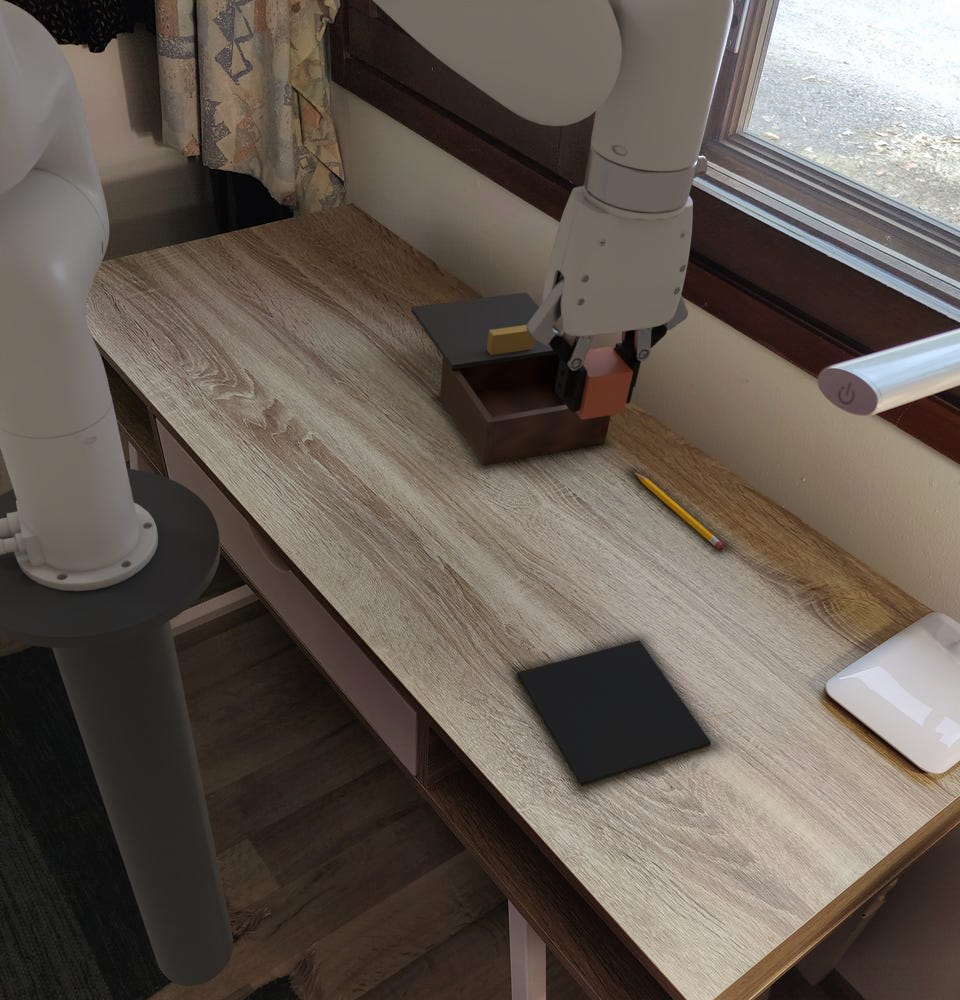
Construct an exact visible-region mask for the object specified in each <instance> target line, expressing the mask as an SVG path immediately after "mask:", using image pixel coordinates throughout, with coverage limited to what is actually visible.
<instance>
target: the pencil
mask: <svg viewBox="0 0 960 1000" xmlns="http://www.w3.org/2000/svg"><path fill="white" fill-rule="evenodd" d="M634 474H635V476H636V477H637V479H638V480H639V481H640V482H641V484H642V485H643V486H644V487H645V488H647V489H648V490H649V491H650V492H651V493H653V495H655V496H656V497H657V498H658V499H660V501H662V502H663V503H664V504H665V505H666V506H667V507H669V508H670V509H671V510H672V511H673V512H675V514H676V515H678V516H679V517H680V518H681V519H683V520H684V521H685V522H686V523H687V524H688V525H690V527H691V528H693V529H694V530H695V531H696V532H697V533H698V534H700V536H702V537H703V538H704V539H705V540H706V541H708V542H709V543H710V544H711V545H712V546H713V547H715V548H716V549H717V550H720V549H723V548H724V546H725V545H724V543H723V542H722V541H721V540H720V539H719V538H717V537H716V536H715V535H714V534H713V533H712V532H710V531H709V530H708V529H707V528H706V527H704V526H703V525H702V524H701V523H700V522H699V521H697V519H695V518H694V517H693V516H692V515H690V514H689V512H687V511H686V510H685V509H684V508H682V507H681V506H680V505H679V504H678V503H676V501H675V500H673V498H671V497H670V496H668V495H667V494H666V493H665V492H664V491H663V490H661V489H660V487H658V486H657V485H656V484H655V483H653V482H652V481H651V480H650V479H649V478H647V477H645V476H644V475H642V474H639V473H637V472H635V473H634Z"/></svg>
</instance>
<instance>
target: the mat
mask: <svg viewBox="0 0 960 1000" xmlns="http://www.w3.org/2000/svg"><path fill="white" fill-rule="evenodd" d="M516 676H517V677H518V680H519V681H520V683H521V684H522V686H523V688H524V690H525V691H526V693H527V695H528V697H529V698H530V700H531V702H532V704H533V705H534V707H535V709H536V711H537V712H538V714H539V716H540V718H541V719H542V721H543V723H544V724H545V726H546V728H547V730H548V732H549V733H550V735H551V737H552V739H553V740H554V742H555V743H556V745H557V748H558V749H559V751H560V753H561V754H562V756H563V758H564V759H565V761H566V763H567V765H568V767H569V768H570V770H571V772H572V774H573V775H574V777H575V779H576V780H577V782H578V784H579V786H585V785H587V784H591V783H595V782H597V781H600V780H604V779H607V778H610V777H613V776H616V775H620V774H623V773H626V772H629V771H633V770H636V769H639V768H642V767H645V766H648V765H652V764H655V763H659V762H661V761H665V760H667V759H671V758H674V757H677V756H680V755H683V754H687V753H689V752H693V751H697V750H700V749H702V748H706V747H709V746H711V745H712V742H711V739H709V737H708V736H707V734H706V733H705V731H704V730H703V728H702V727H701V725H699V723H698V721H697V720H696V719H695V717H694V716H693V714H692V713H691V711H690V709H688V707H687V706H686V704H685V703H684V702H683V699H681V697H680V696H679V694H678V692H676V690H675V688H674V687H673V685H672V684H671V682H670V681H669V680H668V678H667V677H666V676H665V674H664V673H663V671H662V670H661V668H660V667H659V666H658V665H657V663H656V662H655V660H654V659H653V656H651V654H650V653H649V651H648V650H647V649H646V647H645V646H644V645H643V643H642V642H641V640H635V641H631V642H627V643H623V644H619V645H615V646H612V647H608V648H604V649H601V650H597V651H593V652H589V653H586V654H583V655H577V656H574V657H571V658H567V659H563V660H559V661H555V662H552V663H548V664H545V665H544V664H543V665H540V666H537V667H533V668H529V669H525V670H522V671H517V673H516Z"/></svg>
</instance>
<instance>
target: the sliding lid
mask: <svg viewBox="0 0 960 1000" xmlns="http://www.w3.org/2000/svg"><path fill="white" fill-rule="evenodd" d="M539 307H540V306H539V305H538V303H536V301H535V300H534V299H533V298H532V297H531V296H530V295H529V294H528V292H520V293H511V294H503V295H494V296H488V297H480V298H472V299H463V300H455V301H448V302H439V303H432V304H423V305H415V306H411V308H410V309H411V310H410V312H411V314H412V315H413V316H414V318H415V319H416V321H417V322H418V323H419V325H420V326H421V327H422V329H423V330H424V332H425V333H426V336H428V338H429V339H430V340H431V342H432V343H433V345H434V347H435V348H436V349H437V351H438V352H439V353H440V354H441V357H442V359H443V358H444V359H445V360H446V362H447V363H448V365H449V366H450V368H451V369H452V370H454V369H460V368H467V367H474V366H480V365H487V364H494V363H500V362H507V361H514V360H520V359H527V358H534V357H540V356H547V355H554V354H556V353H555V352H554V351H553V350H552V349H551V348H550V347H548V346H545V345H544V344H542V343H540V342H539V341H537V340H535V339H534V338H533V337H532V336H531V335H530V333H529V332H528V331H527V329H526V325H527V323H528V322H529V321H530V319H531V318H532V317H533V315H534V314H535V313H536V311H537V310H538V309H539ZM553 328H555V329H557V331H558V332H559V333H560V332H561V330H559V328H558V327H557V326H556V325H555V324H554V326H553Z"/></svg>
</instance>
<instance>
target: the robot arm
mask: <svg viewBox="0 0 960 1000" xmlns="http://www.w3.org/2000/svg"><path fill="white" fill-rule="evenodd" d="M372 2H373V3H374V4H376V5H377V6H378V7H379V8H380V9H381V10H382V11H384V13H385V14H387V16H389V17H390V18H391V20H393V21H394V22H395V23H396V24H397V25H398V26H399V27H400V28H402V29H403V31H405V32H406V33H407V35H409V36H410V37H412V38H413V39H414V40H415V41H416V42H417V43H418V44H419V45H421V46H422V47H423V48H424V49H425V50H427V51H428V52H429V53H430V54H432V55H433V56H434V57H435V58H437V60H439V61H440V62H442V63H443V64H444V65H446V66H447V67H448V68H450V69H451V70H452V71H454V72H455V73H457V75H459V76H461V77H462V78H463V79H464V80H467V81H468V82H470V84H472V85H473V86H475V87H476V88H478V89H479V90H481V92H483V93H485V94H486V95H487V96H489V97H490V98H492V99H493V100H495V101H496V102H498V103H499V104H501V105H502V106H503V107H505V108H506V109H508V110H509V111H511V112H513V114H515V115H517V116H519V117H521V118H523V119H525V120H527V121H530V122H532V123H535V124H538V125H542V126H549V127H561V126H562V127H563V126H564V127H565V126H570V125H573V124H577V123H579V122H581V121H583V120H585V119H586V118H588V117H591V115H592V114H595V115H594V119H593V120H594V121H593V127H592V131H591V139H590V146H589V152H588V158H587V163H586V170H585V176H584V182H583V185H580V186H576V187H573V188H572V190H571V192H570V195H569V197H568V199H567V201H566V204H565V206H564V210H563V212H562V215H561V218H560V221H559V224H558V227H557V231H556V235H555V237H554V242H553V245H552V249H551V253H550V257H549V262H548V266H547V270H546V274H545V275H546V276H545V281H544V286H543V292H542V300H541V301H542V303H541V305H540V306H539V309H538V310H537V311H536V313H535V314H534V315H533V317H532V318H531V319H530V321H529V322H528V323H527V325H526V329H527V331H528V332H529V333H530V335H531V336H532V337H533V338H534V339H535V340H537V341H539V342H540V343H542V344H544V345H545V346H548V347H550V348H551V349H552V350H553V351H554V352H555V353H556V354H557V355H558V356H559V357H560V362H559V368H558V374H557V379H556V386H555V388H556V393H557V395H558V396H559V397H560V398H561V399H562V401H563V402H564V403H565V404H566V406H567V407H568V408H569V410H570V411H571V412H577V411H579V409H580V406H581V401H582V396H583V391H584V386H585V380H586V375H587V369H586V368H585V367H584V366H583V362H584V360H585V357H586V354H587V352H588V349H590V346H591V343H592V341H593V339H594V336H597V335H604V334H606V335H607V334H612V333H621V342H618V343H615V346H614V347H613V349H614V350H615V351H616V352H617V354H618V355H619V356H620V357H621V358H622V359H623V361H624V362H625V363H626V364H627V365H628V366H629V367H630V368H631V370H632V371H633V375H632V379H631V383H630V388H629V392H628V396H627V400H626V405H627V404H630V403H631V400H632V396H633V393H634V392H633V391H634V388H635V387H636V384H637V382H638V381H637V380H638V376H639V372H640V368H641V363H642V362H644V361H646V360H647V359H648V358H649V357H650V355H651V349H652V348H653V347H655V345H656V344H658V342H660V341H661V340H662V339H663V338H664V337H665V336H666V334H667V331H671V330H672V329H673V328H675V327H676V326H678V325H679V324H681V323H682V322H684V321H685V320H686V319H687V318H688V316H689V311H688V308H687V305H686V302H685V300H684V297H683V294H682V293H683V288H684V284H685V278H686V274H687V269H688V265H689V257H690V251H691V244H692V243H691V242H692V236H693V235H692V234H693V215H694V211H693V210H694V206H693V205H694V202H693V199H692V197H691V196H690V193H691V190H692V186H693V182H694V179H696V178H697V177H703V176H705V175H706V174H707V171H708V160H707V158H706V157H705V156H704V155H700V152H701V147H702V143H703V139H704V135H705V132H706V127H707V122H708V119H709V114H710V111H711V108H712V107H711V106H712V102H713V98H714V94H715V90H716V86H717V82H718V78H719V73H720V69H721V66H722V62H723V57H724V53H725V50H726V45H727V41H728V37H729V33H730V29H731V24H732V20H733V15H734V6H735V5H734V0H372ZM108 212H109V211H108V207H107V202H106V197H105V193H104V188H103V185H102V181H101V177H100V173H99V169H98V165H97V161H96V157H95V153H94V148H93V144H92V139H91V137H90V133H89V128H88V124H87V120H86V116H85V112H84V108H83V104H82V100H81V96H80V93H79V88H78V85H77V82H76V79H75V75H74V74H73V70H72V68H71V66H70V63H69V62H68V60H67V57H66V55H65V53H64V52H63V50H62V49H61V47H60V45H59V44H58V42H57V41H56V39H55V38H54V37H53V35H52V34H51V33H50V32H49V30H47V28H46V27H45V26H44V25H43V24H42V23H41V22H40V21H39V20H37V19H36V18H35V17H34V16H33V15H32V14H30V13H29V12H27V11H26V10H24V9H22V8H21V7H19V6H18V5H15V4H13V3H11V2H9V1H6V0H0V451H1V452H0V453H1V454H2V458H3V461H4V465H5V467H6V470H7V473H8V477H9V479H10V480H9V481H10V483H11V486H12V489H14V492H15V495H16V498H17V501H16V505H17V510H18V511H17V512H13V513H7V518H2V519H0V538H6V537H13V538H8V539H0V555H2V554H6V553H9V552H15V556H16V559H17V562H18V564H19V566H20V568H21V569H22V571H23V572H24V573H25V574H26V575H27V576H28V577H29V578H30V579H32V580H34V581H35V582H37V583H39V584H41V585H44V586H47V587H49V588H53V589H59V590H64V591H87V590H95V589H100V588H105V587H108V586H111V585H114V584H117V583H120V582H122V581H124V580H126V579H128V578H130V577H132V576H133V575H134V574H136V573H137V572H139V571H140V570H141V569H142V568H144V567H145V566H146V565H147V564H148V563H149V561H150V560H151V558H152V557H153V555H154V554H155V551H156V549H157V546H158V533H157V527H156V524H155V522H154V519H153V518H152V517H151V515H150V514H149V513H148V512H147V511H146V510H145V509H144V508H142V507H141V506H140V505H138V504H136V503H134V501H133V496H132V492H131V487H130V482H129V477H128V473H127V469H128V468H127V463H126V459H125V455H124V454H125V453H124V449H123V445H122V440H121V435H120V430H119V425H118V420H117V416H116V412H115V407H114V402H113V398H112V397H113V396H112V393H111V390H110V384H109V381H108V380H109V379H108V376H107V372H106V368H105V365H104V362H103V359H102V356H101V353H100V350H99V348H98V346H97V345H96V342H95V340H94V338H93V336H92V333H91V331H90V329H89V325H88V321H87V311H86V310H87V309H86V308H87V299H88V295H89V293H90V291H91V289H92V287H93V284H94V280H95V278H96V275H97V273H98V271H99V269H100V266H101V264H102V262H103V260H104V257H105V255H106V252H107V249H108V244H109V239H110V220H109V213H108ZM560 317H561V318H562V326H561V329H560V333H559V332H558V331H557V329H555V328H553V326H554V325H555V324H556V323H557V321H558V320H559V319H560Z"/></svg>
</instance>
